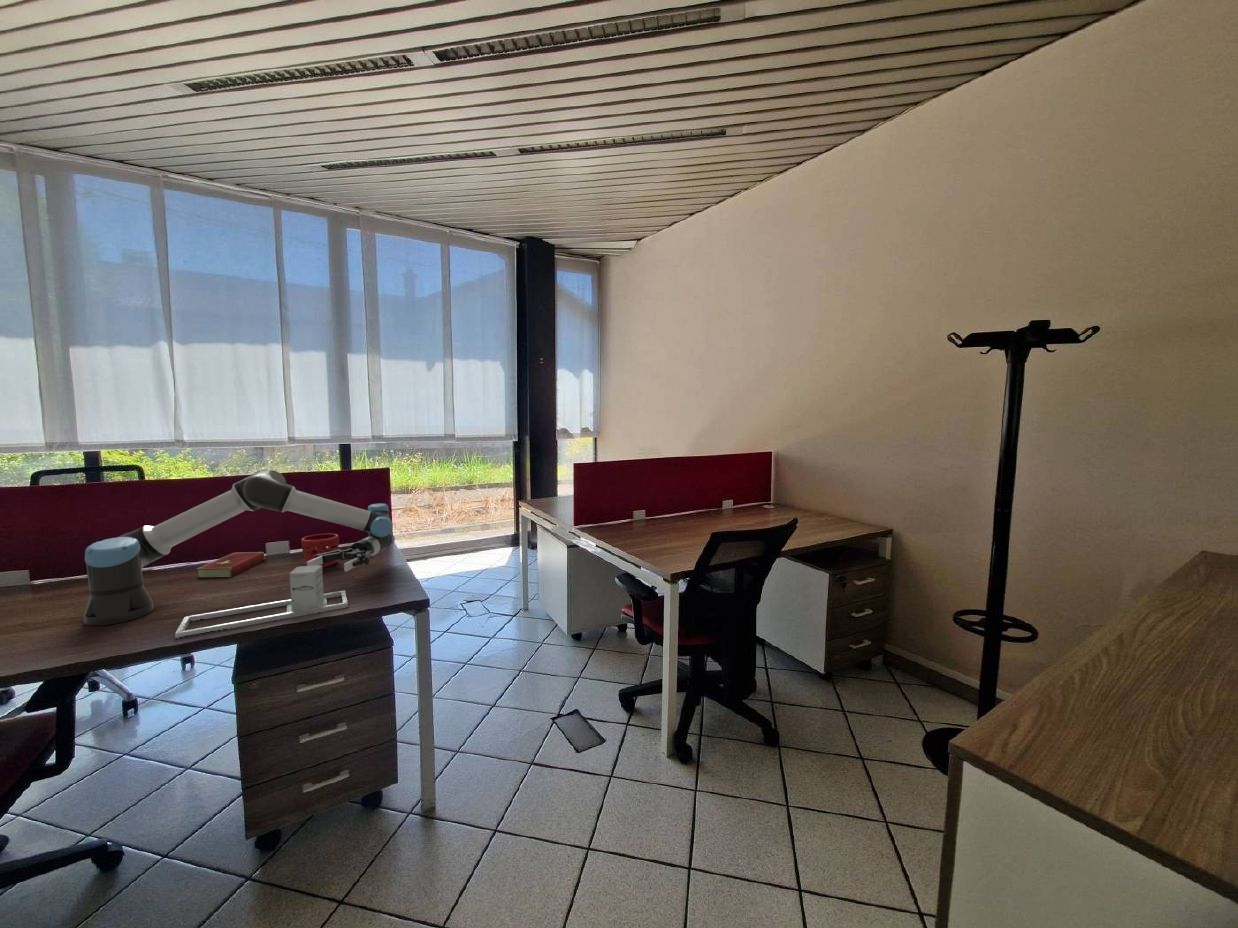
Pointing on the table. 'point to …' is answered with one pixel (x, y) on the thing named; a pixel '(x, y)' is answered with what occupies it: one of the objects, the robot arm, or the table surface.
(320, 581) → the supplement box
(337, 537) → the plant pot
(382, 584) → the table surface
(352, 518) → the robot arm
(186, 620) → the rail track
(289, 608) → the pad
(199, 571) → the hardcover book
